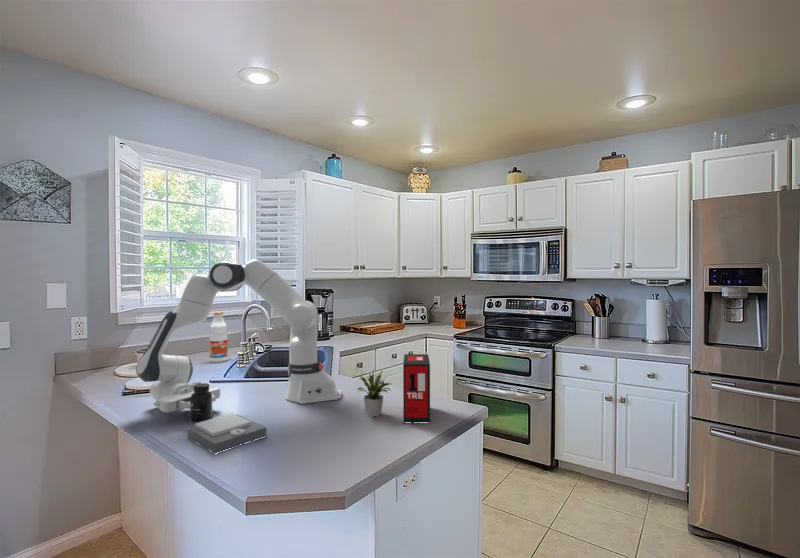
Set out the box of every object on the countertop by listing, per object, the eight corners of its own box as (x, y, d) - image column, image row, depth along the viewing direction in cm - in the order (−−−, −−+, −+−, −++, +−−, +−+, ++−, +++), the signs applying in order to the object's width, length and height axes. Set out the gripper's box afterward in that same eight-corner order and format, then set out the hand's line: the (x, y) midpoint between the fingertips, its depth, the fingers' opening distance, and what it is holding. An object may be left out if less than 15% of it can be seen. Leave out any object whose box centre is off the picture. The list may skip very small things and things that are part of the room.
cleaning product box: (430, 423, 137) (429, 364, 137) (403, 423, 138) (403, 364, 137) (428, 407, 154) (428, 354, 154) (404, 407, 154) (404, 354, 154)
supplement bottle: (190, 424, 137) (190, 388, 137) (190, 417, 143) (189, 383, 143) (213, 420, 140) (212, 386, 140) (211, 414, 146) (211, 381, 146)
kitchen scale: (237, 423, 138) (237, 411, 138) (266, 436, 127) (266, 424, 127) (187, 437, 126) (187, 424, 126) (215, 454, 114) (215, 440, 114)
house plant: (357, 424, 136) (357, 376, 136) (345, 411, 149) (345, 367, 149) (396, 418, 142) (396, 371, 142) (382, 406, 155) (382, 363, 154)
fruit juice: (225, 358, 243) (225, 311, 242) (229, 361, 235) (228, 312, 235) (208, 360, 237) (207, 312, 237) (211, 363, 230) (211, 313, 229)
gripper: (150, 394, 140) (172, 401, 132) (207, 380, 157) (228, 386, 149) (151, 412, 140) (172, 420, 132) (207, 397, 157) (229, 403, 150)
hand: (202, 402), depth 141 cm, fingers closed on supplement bottle, 7 cm apart
